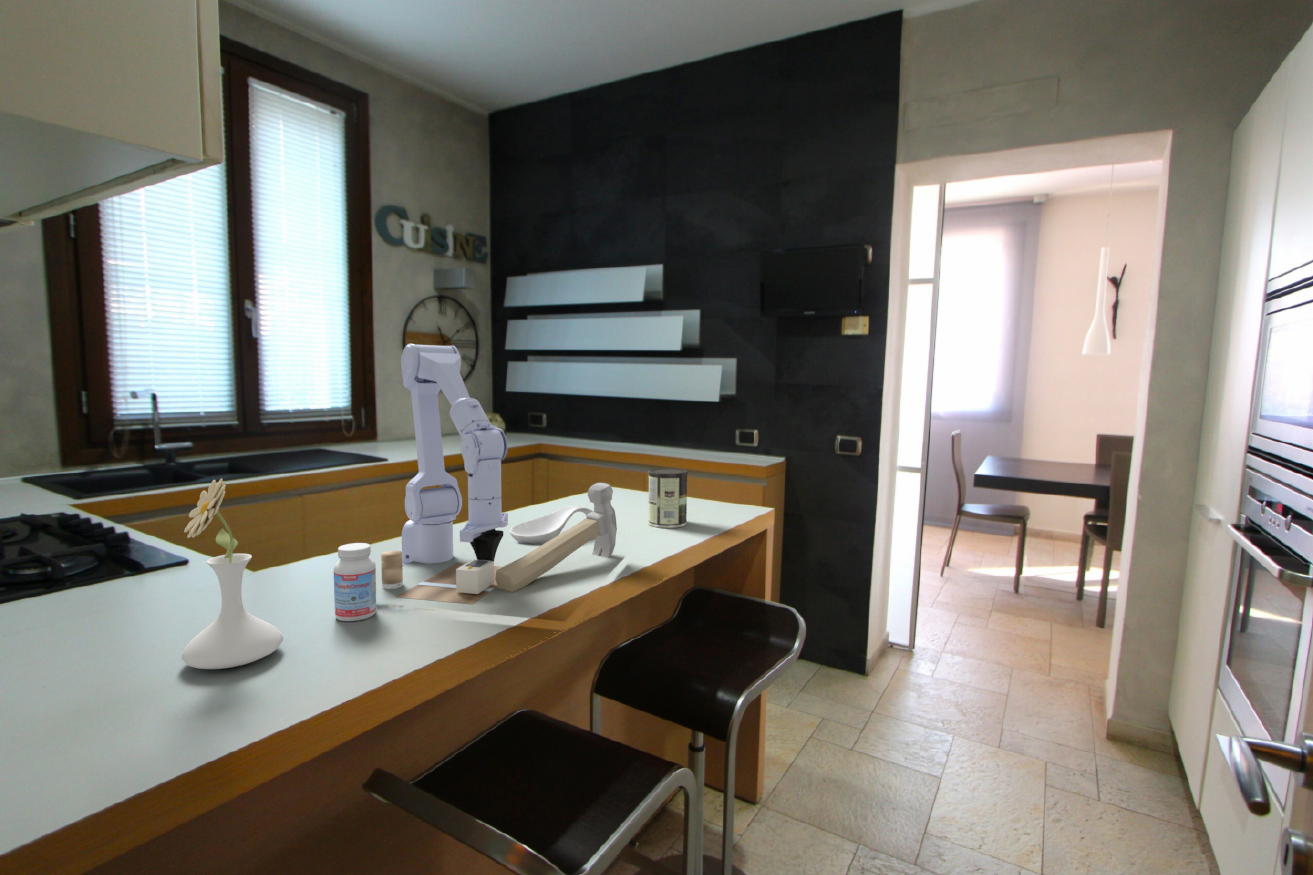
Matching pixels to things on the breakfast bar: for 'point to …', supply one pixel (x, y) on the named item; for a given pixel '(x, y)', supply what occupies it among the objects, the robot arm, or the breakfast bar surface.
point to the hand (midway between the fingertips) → (485, 571)
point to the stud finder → (474, 576)
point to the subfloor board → (445, 588)
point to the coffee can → (667, 497)
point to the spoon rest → (545, 526)
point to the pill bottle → (354, 583)
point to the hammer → (566, 543)
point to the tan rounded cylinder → (392, 569)
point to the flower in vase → (227, 601)
